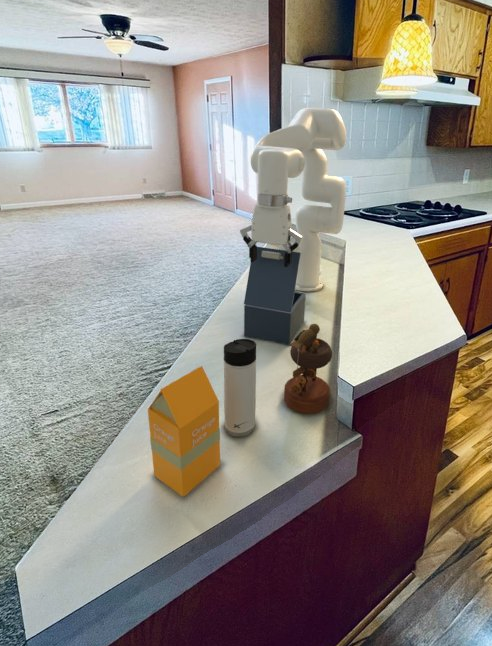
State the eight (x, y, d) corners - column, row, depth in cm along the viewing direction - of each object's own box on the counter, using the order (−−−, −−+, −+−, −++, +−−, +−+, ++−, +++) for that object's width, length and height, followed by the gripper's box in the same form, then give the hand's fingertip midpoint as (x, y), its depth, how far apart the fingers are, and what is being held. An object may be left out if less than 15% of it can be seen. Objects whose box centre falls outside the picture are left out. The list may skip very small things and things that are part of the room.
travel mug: (240, 443, 81) (241, 355, 73) (218, 427, 85) (216, 343, 77) (262, 426, 86) (264, 343, 78) (240, 412, 89) (240, 331, 82)
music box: (320, 424, 87) (320, 341, 80) (273, 414, 91) (269, 333, 84) (340, 385, 101) (341, 311, 94) (298, 377, 104) (296, 305, 97)
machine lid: (254, 246, 117) (247, 243, 112) (301, 252, 114) (296, 250, 109) (244, 304, 117) (237, 303, 112) (291, 312, 114) (286, 312, 109)
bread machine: (263, 314, 135) (263, 286, 131) (303, 321, 132) (305, 293, 128) (244, 336, 121) (244, 305, 117) (289, 345, 118) (290, 313, 114)
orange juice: (153, 475, 72) (143, 380, 65) (191, 446, 79) (187, 357, 72) (183, 498, 69) (177, 399, 61) (221, 465, 75) (219, 373, 68)
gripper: (308, 201, 107) (304, 263, 113) (246, 194, 110) (246, 255, 117) (300, 206, 100) (296, 272, 106) (234, 198, 104) (235, 262, 110)
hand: (270, 263), depth 112 cm, fingers open, 9 cm apart
